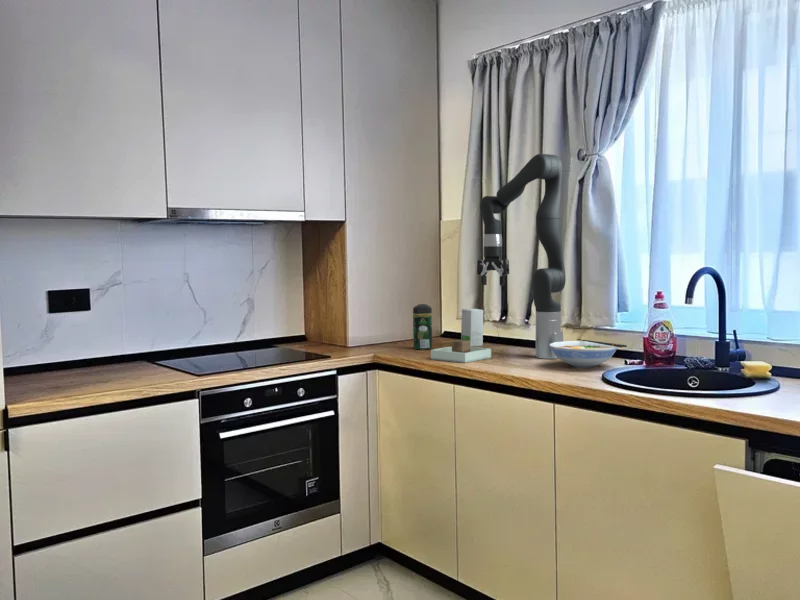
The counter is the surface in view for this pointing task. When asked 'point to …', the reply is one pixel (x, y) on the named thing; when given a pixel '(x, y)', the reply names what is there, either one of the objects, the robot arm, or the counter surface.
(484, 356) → the sage tray
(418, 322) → the coffee jar
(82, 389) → the counter surface
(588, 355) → the ramen bowl
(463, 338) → the skincare box
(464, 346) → the walnut block
